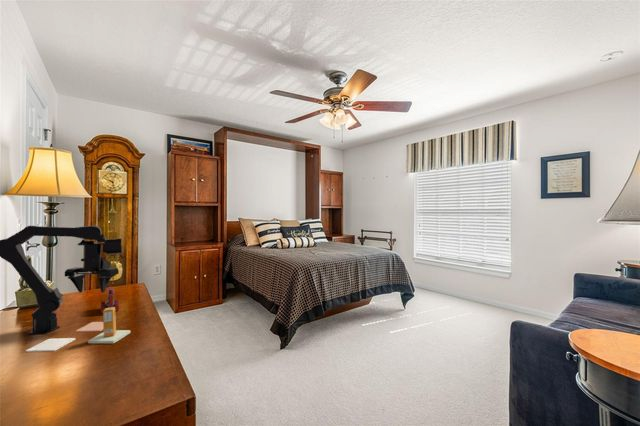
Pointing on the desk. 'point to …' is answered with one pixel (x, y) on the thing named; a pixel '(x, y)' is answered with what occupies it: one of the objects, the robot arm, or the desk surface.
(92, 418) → the desk surface
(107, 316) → the supplement box
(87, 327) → the terracotta tile
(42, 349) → the white tile
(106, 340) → the sage tile
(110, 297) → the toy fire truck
